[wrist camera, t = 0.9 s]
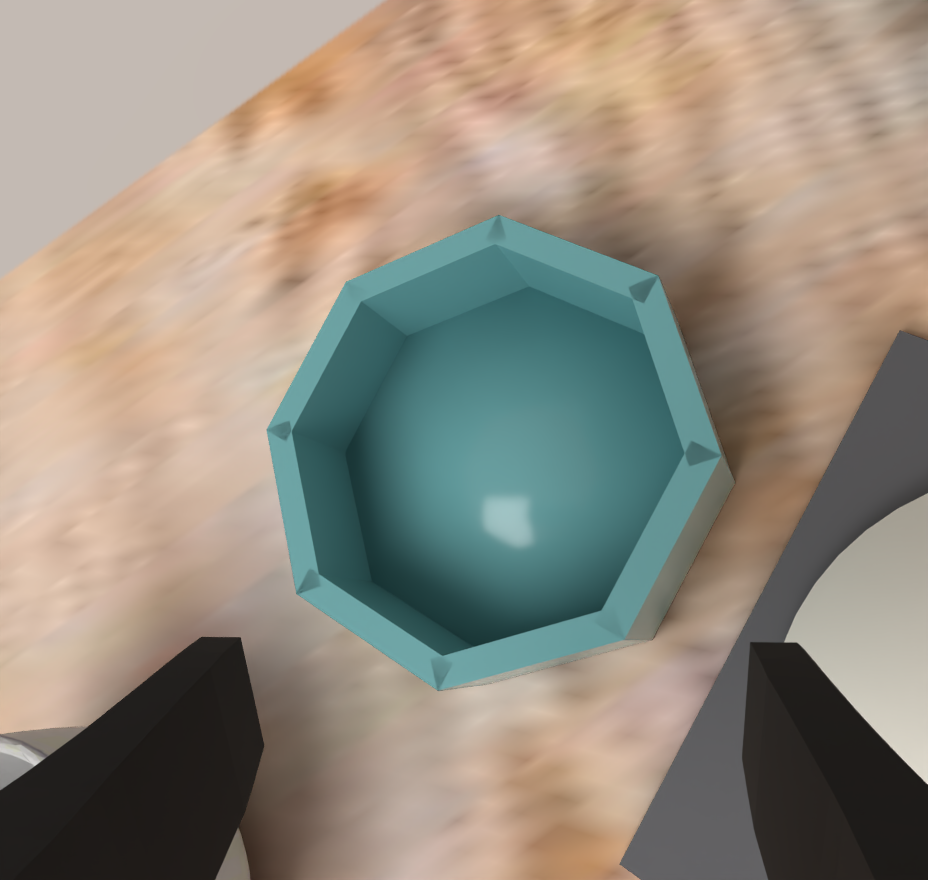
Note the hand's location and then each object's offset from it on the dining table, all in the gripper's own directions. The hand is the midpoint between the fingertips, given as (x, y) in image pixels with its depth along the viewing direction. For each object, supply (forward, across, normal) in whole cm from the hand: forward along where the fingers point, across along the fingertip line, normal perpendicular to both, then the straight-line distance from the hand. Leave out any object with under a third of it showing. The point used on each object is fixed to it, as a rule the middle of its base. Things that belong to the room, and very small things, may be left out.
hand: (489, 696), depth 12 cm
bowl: (+14, +1, +4) cm, 15 cm away
